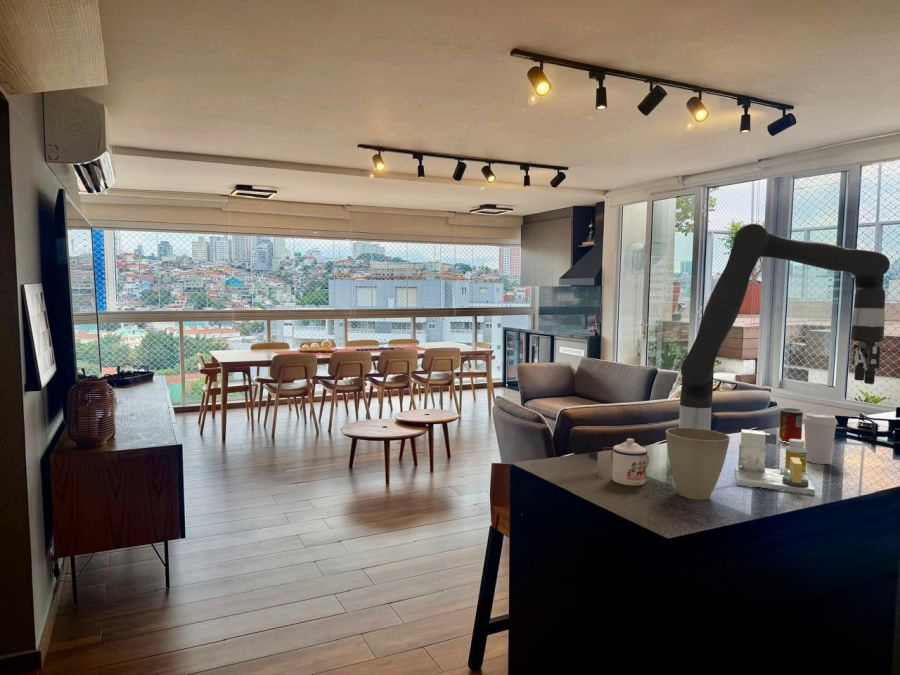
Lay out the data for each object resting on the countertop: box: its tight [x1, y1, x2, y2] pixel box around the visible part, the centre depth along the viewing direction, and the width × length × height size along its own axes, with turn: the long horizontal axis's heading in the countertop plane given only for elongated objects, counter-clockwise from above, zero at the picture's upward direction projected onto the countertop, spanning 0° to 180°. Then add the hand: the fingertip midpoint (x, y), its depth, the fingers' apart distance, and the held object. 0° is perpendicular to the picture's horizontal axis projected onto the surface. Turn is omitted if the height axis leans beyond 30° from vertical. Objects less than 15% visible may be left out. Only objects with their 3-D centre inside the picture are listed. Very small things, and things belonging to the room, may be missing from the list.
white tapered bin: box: [802, 412, 839, 465], centre depth 187 cm, size 10×10×15 cm
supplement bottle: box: [784, 439, 807, 474], centre depth 174 cm, size 5×5×10 cm
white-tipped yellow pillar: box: [782, 457, 808, 486], centre depth 157 cm, size 7×6×6 cm
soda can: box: [778, 407, 804, 442], centre depth 216 cm, size 7×7×12 cm
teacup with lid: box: [612, 438, 650, 487], centre depth 161 cm, size 12×9×12 cm
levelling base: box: [735, 428, 816, 496], centre depth 163 cm, size 18×18×12 cm
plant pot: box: [665, 427, 731, 501], centre depth 149 cm, size 15×15×16 cm
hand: (863, 382), depth 166 cm, fingers open, 8 cm apart
